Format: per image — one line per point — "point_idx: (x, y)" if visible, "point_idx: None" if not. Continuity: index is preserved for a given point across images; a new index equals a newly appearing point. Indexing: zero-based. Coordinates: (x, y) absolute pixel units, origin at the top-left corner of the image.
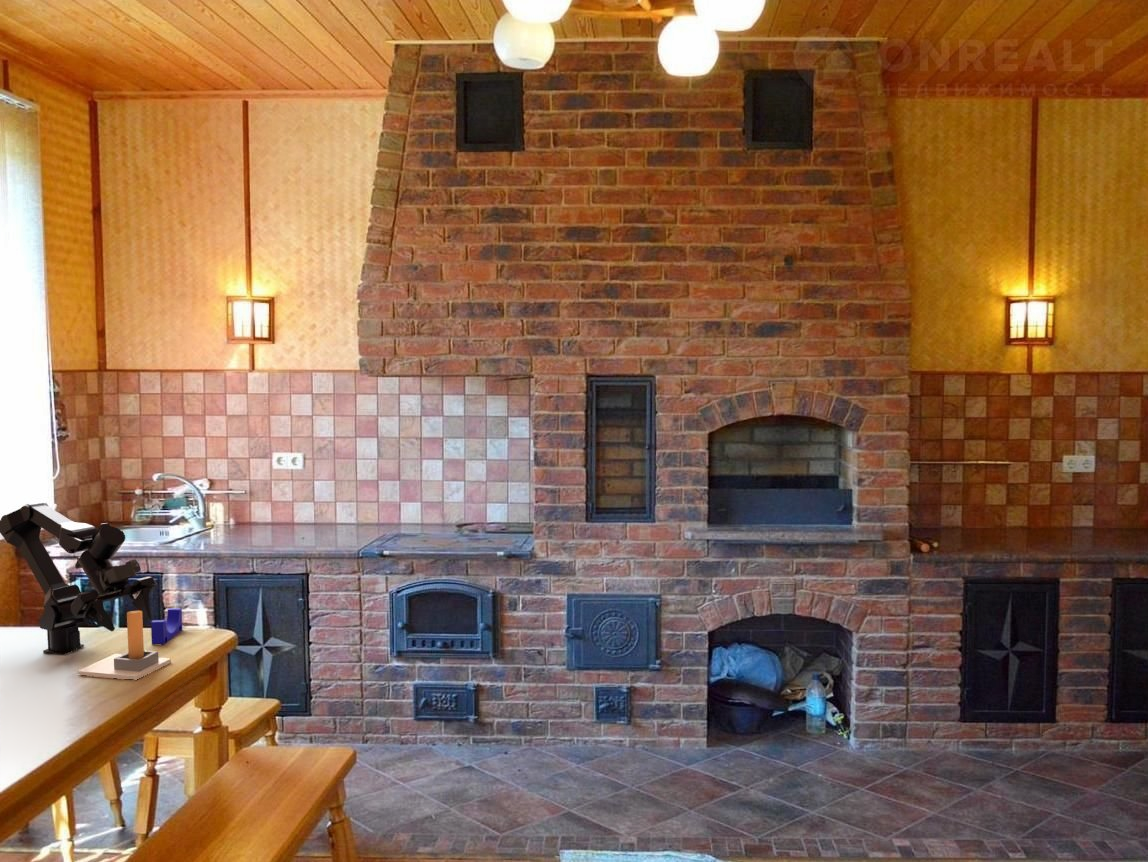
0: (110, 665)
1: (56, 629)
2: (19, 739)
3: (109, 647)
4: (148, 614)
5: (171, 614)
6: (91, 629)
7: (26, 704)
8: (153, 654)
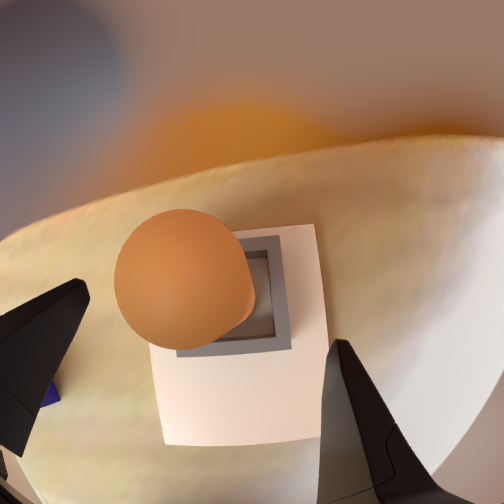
0: (260, 385)
1: None
2: None
3: (118, 489)
4: (65, 291)
5: None
6: None
7: (493, 352)
8: None
